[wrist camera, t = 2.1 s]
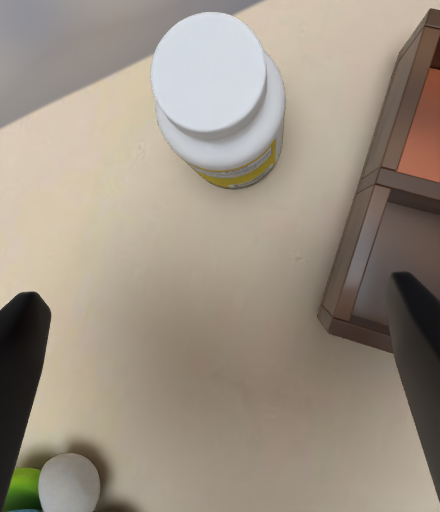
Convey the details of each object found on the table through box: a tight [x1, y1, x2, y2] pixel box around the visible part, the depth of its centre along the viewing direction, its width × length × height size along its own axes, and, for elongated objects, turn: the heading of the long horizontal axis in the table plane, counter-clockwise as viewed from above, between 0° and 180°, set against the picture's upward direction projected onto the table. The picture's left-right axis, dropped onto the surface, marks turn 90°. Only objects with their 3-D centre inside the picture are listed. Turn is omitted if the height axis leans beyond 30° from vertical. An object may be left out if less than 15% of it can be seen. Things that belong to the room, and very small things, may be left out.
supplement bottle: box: [150, 12, 285, 189], centre depth 18 cm, size 5×5×10 cm
